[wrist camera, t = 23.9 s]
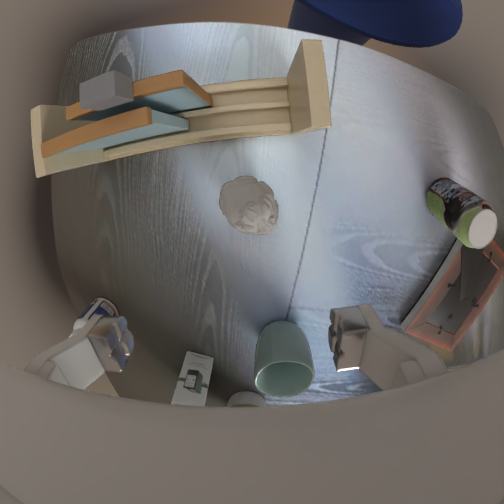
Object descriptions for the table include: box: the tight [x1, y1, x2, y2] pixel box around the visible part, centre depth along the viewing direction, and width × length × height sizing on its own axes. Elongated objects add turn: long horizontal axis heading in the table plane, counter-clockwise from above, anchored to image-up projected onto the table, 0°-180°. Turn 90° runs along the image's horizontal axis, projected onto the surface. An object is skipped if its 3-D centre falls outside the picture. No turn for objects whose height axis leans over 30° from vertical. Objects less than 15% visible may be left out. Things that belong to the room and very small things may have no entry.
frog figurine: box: [219, 176, 278, 235], centre depth 30 cm, size 6×7×7 cm
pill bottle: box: [69, 298, 118, 338], centre depth 36 cm, size 5×5×10 cm
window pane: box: [66, 70, 213, 121], centre depth 20 cm, size 2×11×16 cm, turn 95°
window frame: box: [31, 39, 332, 177], centre depth 23 cm, size 7×26×14 cm, turn 95°
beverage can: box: [426, 178, 497, 249], centre depth 26 cm, size 6×7×12 cm
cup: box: [254, 321, 315, 397], centre depth 36 cm, size 8×8×10 cm
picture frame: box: [400, 238, 504, 351], centre depth 36 cm, size 16×2×22 cm
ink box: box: [171, 351, 214, 406], centre depth 39 cm, size 9×5×12 cm, turn 164°
